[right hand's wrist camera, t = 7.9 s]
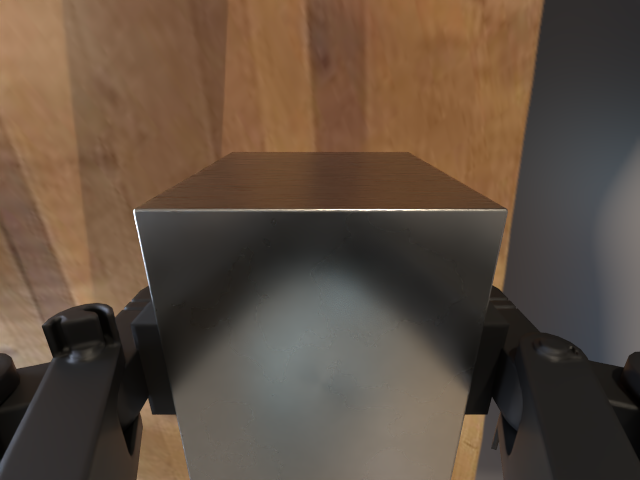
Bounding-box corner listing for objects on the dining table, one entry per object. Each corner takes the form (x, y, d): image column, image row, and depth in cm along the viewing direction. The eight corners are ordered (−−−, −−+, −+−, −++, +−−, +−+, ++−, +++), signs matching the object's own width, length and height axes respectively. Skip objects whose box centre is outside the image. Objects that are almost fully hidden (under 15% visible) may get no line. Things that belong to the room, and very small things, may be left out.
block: (392, 327, 16) (447, 499, 9) (247, 327, 16) (193, 499, 9) (409, 151, 13) (509, 209, 6) (231, 151, 13) (131, 209, 6)
